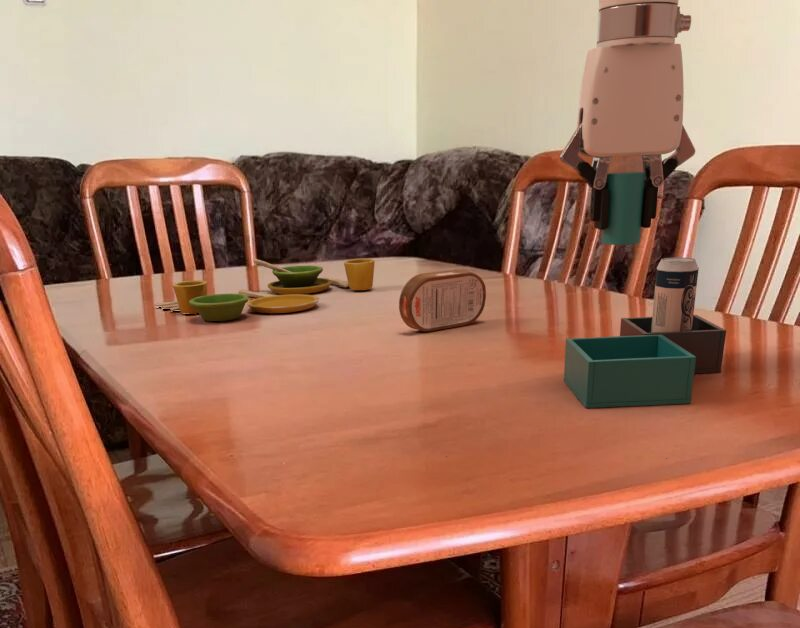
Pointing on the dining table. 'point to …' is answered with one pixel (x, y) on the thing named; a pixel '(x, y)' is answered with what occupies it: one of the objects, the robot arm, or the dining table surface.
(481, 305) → the tin
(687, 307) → the beer can
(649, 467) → the dining table surface
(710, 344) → the charcoal bin
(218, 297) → the tableware set
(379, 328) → the dining table surface
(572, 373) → the teal bin
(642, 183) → the teal peg
